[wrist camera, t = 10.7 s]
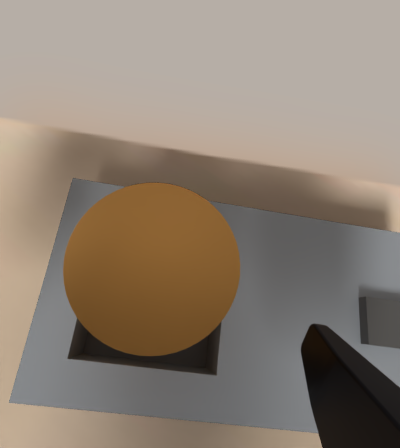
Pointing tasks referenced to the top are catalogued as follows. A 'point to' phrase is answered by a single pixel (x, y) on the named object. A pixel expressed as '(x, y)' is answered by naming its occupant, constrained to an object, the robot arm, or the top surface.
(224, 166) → the top surface
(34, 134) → the top surface
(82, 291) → the orange cylinder
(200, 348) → the grey block with pocket
